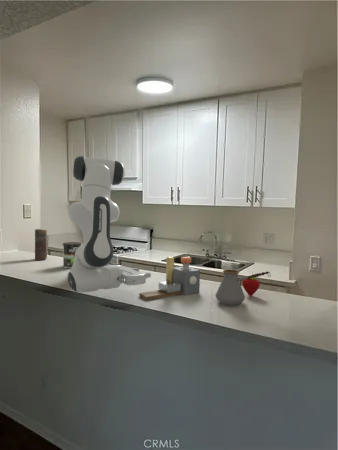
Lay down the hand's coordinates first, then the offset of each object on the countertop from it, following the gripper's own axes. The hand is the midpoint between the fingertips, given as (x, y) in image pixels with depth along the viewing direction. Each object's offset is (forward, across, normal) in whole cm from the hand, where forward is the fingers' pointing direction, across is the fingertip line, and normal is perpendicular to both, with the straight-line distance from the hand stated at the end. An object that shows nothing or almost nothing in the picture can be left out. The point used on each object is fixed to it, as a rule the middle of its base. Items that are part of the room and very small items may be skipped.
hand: (143, 272), depth 127 cm
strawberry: (+41, -20, +11) cm, 47 cm away
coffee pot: (+28, -27, +11) cm, 41 cm away
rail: (+8, 0, +11) cm, 14 cm away
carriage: (+13, 0, +9) cm, 16 cm away
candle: (-16, +106, +10) cm, 108 cm away
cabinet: (+22, 0, +11) cm, 24 cm away
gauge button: (+22, 0, +7) cm, 23 cm away
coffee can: (-6, +75, +10) cm, 76 cm away
